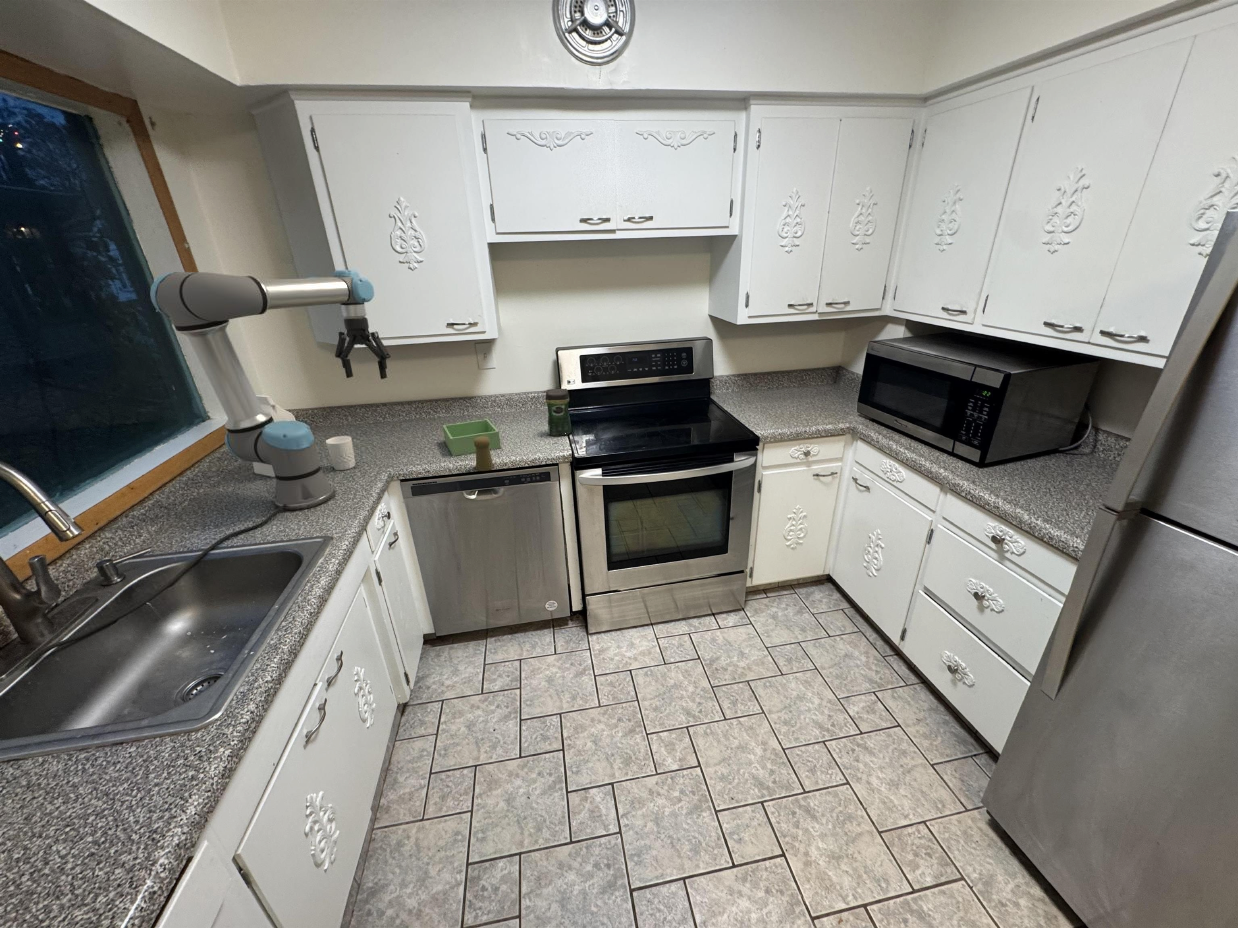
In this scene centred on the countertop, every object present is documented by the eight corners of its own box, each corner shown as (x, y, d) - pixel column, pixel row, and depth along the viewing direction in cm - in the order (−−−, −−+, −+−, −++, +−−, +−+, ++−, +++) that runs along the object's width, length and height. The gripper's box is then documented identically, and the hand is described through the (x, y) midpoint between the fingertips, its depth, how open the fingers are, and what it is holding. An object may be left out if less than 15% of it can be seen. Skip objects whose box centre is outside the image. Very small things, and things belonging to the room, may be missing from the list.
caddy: (500, 448, 191) (498, 431, 189) (453, 456, 184) (450, 438, 181) (489, 434, 206) (487, 419, 203) (445, 441, 199) (442, 425, 196)
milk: (254, 473, 171) (231, 398, 161) (286, 461, 181) (266, 390, 171) (279, 478, 167) (257, 401, 157) (310, 465, 177) (291, 393, 167)
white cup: (352, 460, 181) (346, 434, 177) (360, 466, 175) (354, 439, 172) (329, 466, 176) (322, 439, 172) (336, 473, 170) (329, 445, 167)
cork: (489, 471, 170) (485, 441, 166) (472, 470, 172) (468, 439, 167) (496, 464, 176) (493, 435, 172) (480, 463, 177) (477, 434, 173)
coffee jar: (571, 429, 211) (568, 386, 204) (571, 435, 204) (569, 391, 197) (547, 430, 210) (544, 387, 203) (547, 437, 203) (544, 392, 196)
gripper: (394, 316, 177) (404, 376, 184) (330, 316, 180) (342, 374, 188) (381, 319, 170) (392, 381, 178) (315, 318, 173) (328, 379, 181)
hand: (366, 378), depth 183 cm, fingers open, 13 cm apart
